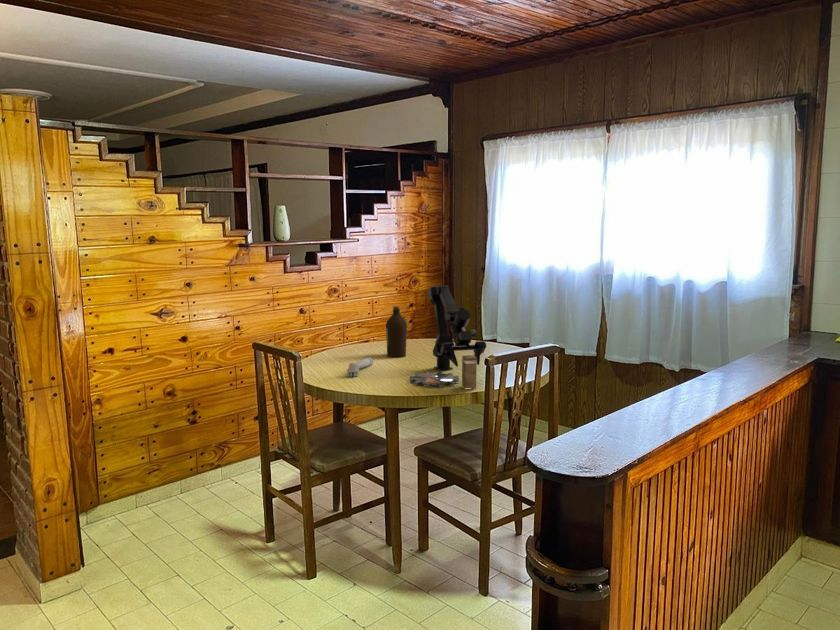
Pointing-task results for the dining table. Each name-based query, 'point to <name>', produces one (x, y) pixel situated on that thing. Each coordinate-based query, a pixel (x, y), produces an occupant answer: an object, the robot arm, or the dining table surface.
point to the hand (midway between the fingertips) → (468, 365)
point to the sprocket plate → (433, 379)
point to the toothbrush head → (358, 366)
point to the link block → (469, 371)
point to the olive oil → (396, 334)
